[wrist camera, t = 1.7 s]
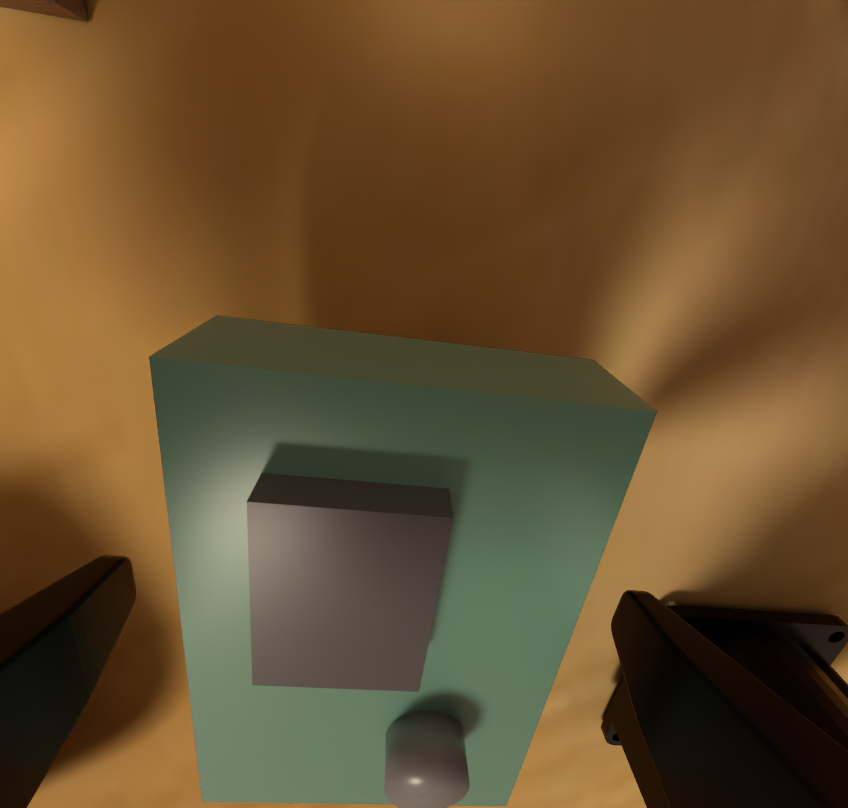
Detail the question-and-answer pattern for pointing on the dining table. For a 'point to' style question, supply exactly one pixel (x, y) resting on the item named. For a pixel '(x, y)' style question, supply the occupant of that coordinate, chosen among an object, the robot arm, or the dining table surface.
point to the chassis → (51, 7)
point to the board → (380, 553)
